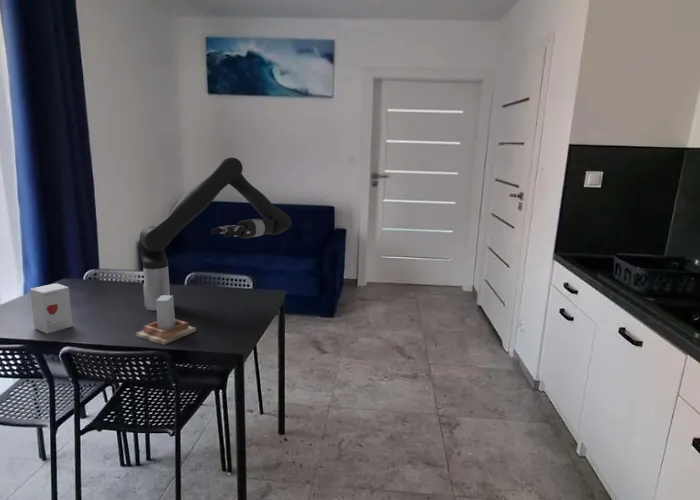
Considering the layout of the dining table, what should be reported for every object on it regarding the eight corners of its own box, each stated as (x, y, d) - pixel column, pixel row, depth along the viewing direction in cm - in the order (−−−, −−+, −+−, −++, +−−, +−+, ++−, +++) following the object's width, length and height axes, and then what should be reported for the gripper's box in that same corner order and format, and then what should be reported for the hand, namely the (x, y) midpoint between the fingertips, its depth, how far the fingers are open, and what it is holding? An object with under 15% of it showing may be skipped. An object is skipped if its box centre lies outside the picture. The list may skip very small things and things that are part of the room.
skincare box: (163, 326, 162) (161, 295, 160) (175, 326, 162) (173, 295, 160) (157, 333, 156) (155, 300, 154) (170, 333, 157) (168, 300, 154)
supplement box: (46, 334, 156) (41, 293, 153) (33, 328, 161) (28, 288, 158) (73, 326, 164) (69, 286, 161) (61, 321, 168) (56, 282, 165)
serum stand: (135, 336, 157) (135, 326, 156) (169, 323, 169) (168, 314, 168) (163, 344, 150) (163, 335, 149) (196, 331, 162) (195, 322, 162)
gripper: (239, 217, 192) (207, 221, 180) (262, 221, 184) (229, 225, 171) (240, 235, 194) (207, 240, 181) (262, 239, 185) (229, 245, 173)
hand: (218, 233), depth 176 cm, fingers open, 8 cm apart
